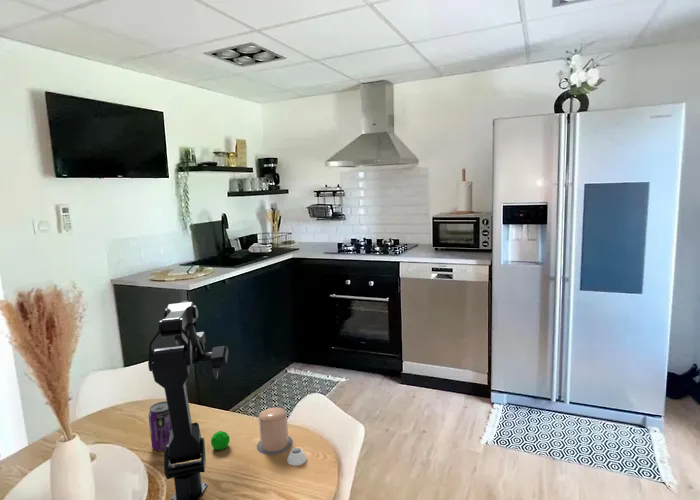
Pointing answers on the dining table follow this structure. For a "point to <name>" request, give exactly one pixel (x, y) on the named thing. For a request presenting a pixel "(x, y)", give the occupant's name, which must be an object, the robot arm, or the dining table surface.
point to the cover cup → (273, 429)
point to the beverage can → (159, 425)
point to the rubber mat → (276, 451)
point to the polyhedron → (220, 440)
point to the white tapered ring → (296, 457)
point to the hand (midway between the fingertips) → (201, 380)
